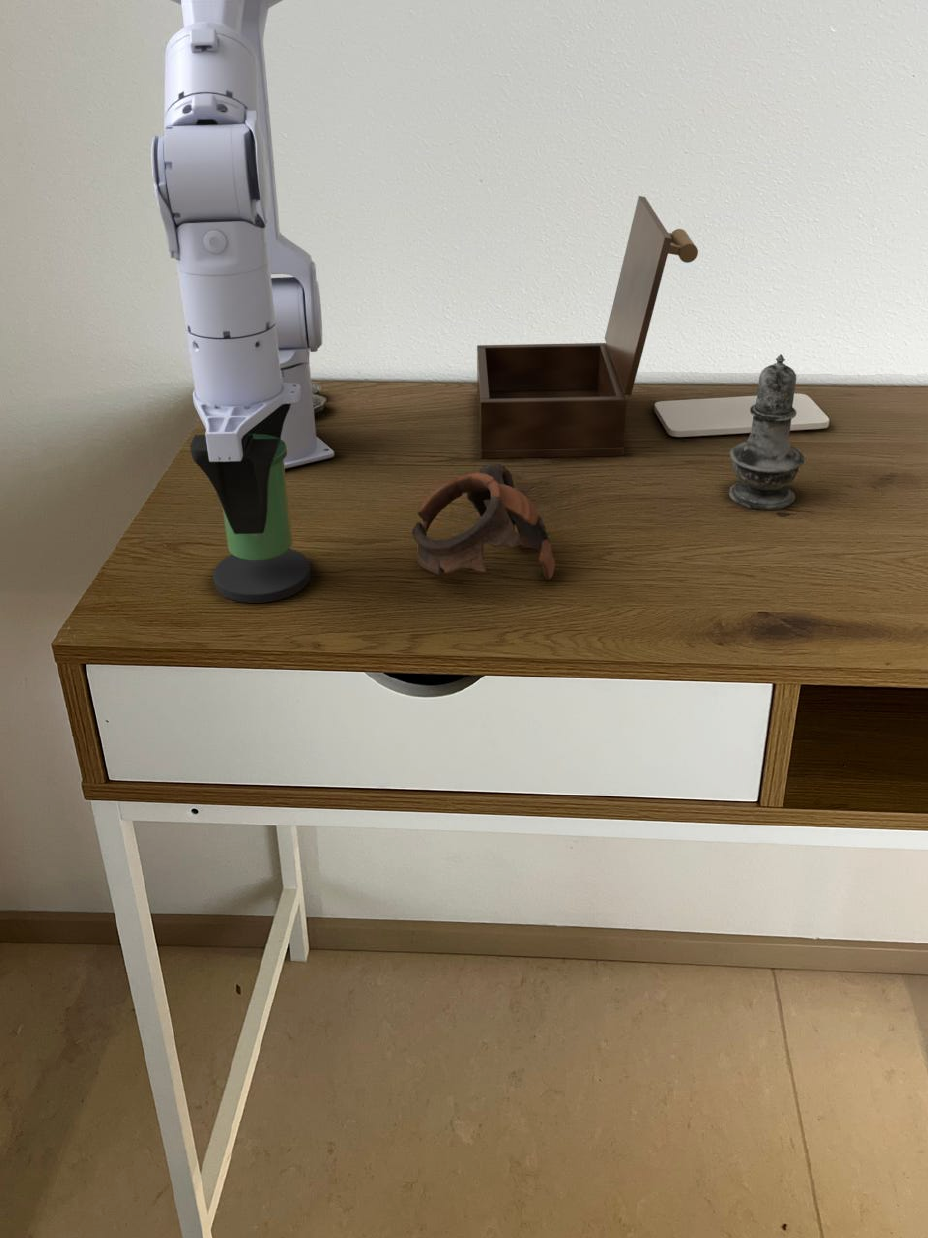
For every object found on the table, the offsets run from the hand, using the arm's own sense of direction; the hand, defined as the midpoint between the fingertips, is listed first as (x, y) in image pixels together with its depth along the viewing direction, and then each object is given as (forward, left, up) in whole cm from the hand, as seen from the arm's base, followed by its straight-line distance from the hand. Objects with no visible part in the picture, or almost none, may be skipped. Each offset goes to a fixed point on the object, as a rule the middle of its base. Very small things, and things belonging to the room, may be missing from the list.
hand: (254, 513), depth 81 cm
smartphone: (-4, +49, -5) cm, 50 cm away
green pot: (0, 0, -3) cm, 3 cm away
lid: (-10, +40, +7) cm, 41 cm away
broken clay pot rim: (+7, +15, -6) cm, 18 cm away
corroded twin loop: (-29, +15, -5) cm, 34 cm away
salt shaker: (+9, +40, -6) cm, 42 cm away
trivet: (0, 0, -5) cm, 5 cm away
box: (-13, +33, -5) cm, 36 cm away
